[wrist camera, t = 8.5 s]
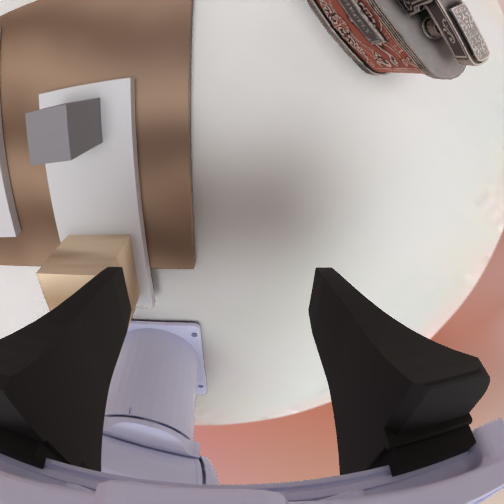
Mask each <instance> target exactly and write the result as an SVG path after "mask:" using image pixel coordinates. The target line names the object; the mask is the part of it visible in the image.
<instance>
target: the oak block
mask: <svg viewBox="0 0 504 504" xmlns="http://www.w3.org/2000/svg"><path fill="white" fill-rule="evenodd" d="M107 267H122V268H123V272H124V277H125V282H126V287H127V291H128V296H129V300H130V304H131V308H132V311H131V316H130V321H129V324H130V322H131V319H132V316H133V313H134V310H135V307H136V304H137V302H138V299H139V296H140V289H139V284H138V279H137V274H136V268H135V262H134V257H133V251H132V244H131V238H130V234H109V235H68V236H67V237H66V238H65V239H64V240H63V241H62V243H61V244H60V245H59V246H58V247H57V248H56V250H55V251H54V252H53V253H52V254H51V256H50V257H49V258H48V259H47V260H46V262H45V263H44V264H43V265H42V267H41V268H40V269H39V270H38V272H37V273H36V274H37V277H38V280H39V283H40V286H41V289H42V292H43V294H44V297H45V300H46V302H47V305H48V307H49V310H50V311H51V310H53V309H54V308H56V307H57V306H58V305H59V304H61V303H62V302H63V301H65V300H66V299H67V298H69V297H70V296H71V295H73V294H74V293H75V292H76V291H78V290H79V289H80V288H81V287H82V286H84V285H85V284H86V283H87V282H89V281H90V280H91V279H92V278H93V277H95V276H96V275H97V274H99V273H100V272H101V271H102V270H104V269H105V268H107ZM128 327H129V326H128Z"/></svg>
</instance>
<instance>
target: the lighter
mask: <svg viewBox="0 0 504 504" xmlns="http://www.w3.org/2000/svg"><path fill="white" fill-rule="evenodd" d="M307 2H308V4H309V5H310V7H311V9H312V10H313V12H314V13H315V14H316V16H317V17H318V19H319V20H320V22H321V23H322V24H323V26H324V27H325V29H326V30H327V32H328V33H329V34H330V35H331V36H332V37H333V39H334V40H335V41H336V42H337V43H338V44H339V46H340V47H341V48H342V49H343V50H344V52H345V53H346V54H347V55H348V56H349V57H350V58H351V59H352V60H353V61H354V62H355V63H356V64H357V65H358V66H359V67H360V68H361V69H362V70H363V71H365V72H366V73H368V74H371V75H386V74H389V73H391V72H396V73H421V74H425V75H427V76H429V77H432V78H436V79H453V78H456V77H458V76H459V75H460V74H461V73H462V72H463V71H464V69H465V67H466V65H473V66H480V65H482V64H484V63H485V62H486V61H487V60H488V58H489V55H490V53H489V50H488V47H487V45H486V43H485V41H484V39H483V36H482V34H481V32H480V30H479V28H478V27H477V25H476V23H475V21H474V19H473V17H472V15H471V13H470V12H469V10H468V8H467V6H466V5H465V3H464V2H463V1H462V0H307Z"/></svg>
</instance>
